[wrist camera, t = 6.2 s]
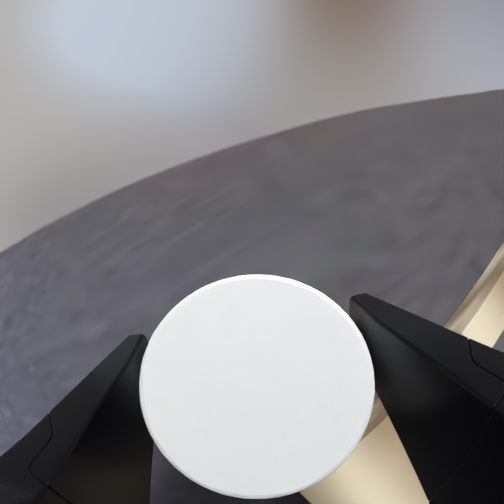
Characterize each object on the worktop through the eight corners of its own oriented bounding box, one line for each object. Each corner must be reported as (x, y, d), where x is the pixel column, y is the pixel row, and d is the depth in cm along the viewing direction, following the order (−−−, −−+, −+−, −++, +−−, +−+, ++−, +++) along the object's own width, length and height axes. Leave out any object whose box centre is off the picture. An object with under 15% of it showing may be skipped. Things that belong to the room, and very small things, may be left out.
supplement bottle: (280, 453, 12) (306, 570, 3) (179, 393, 14) (56, 418, 5) (340, 355, 14) (458, 324, 5) (241, 298, 15) (209, 185, 6)
